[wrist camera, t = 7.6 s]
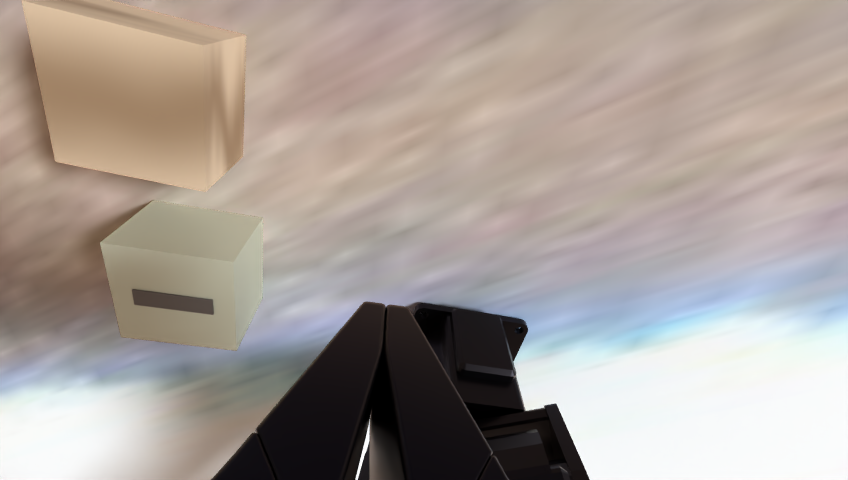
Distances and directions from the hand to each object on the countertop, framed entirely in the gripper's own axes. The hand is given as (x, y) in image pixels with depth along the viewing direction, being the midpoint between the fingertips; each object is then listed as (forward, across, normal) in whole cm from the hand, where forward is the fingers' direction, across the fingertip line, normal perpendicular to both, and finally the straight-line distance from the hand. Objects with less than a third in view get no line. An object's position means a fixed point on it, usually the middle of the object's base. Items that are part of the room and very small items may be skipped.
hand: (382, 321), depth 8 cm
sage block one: (+12, +8, +7) cm, 16 cm away
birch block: (+12, +9, -1) cm, 15 cm away
